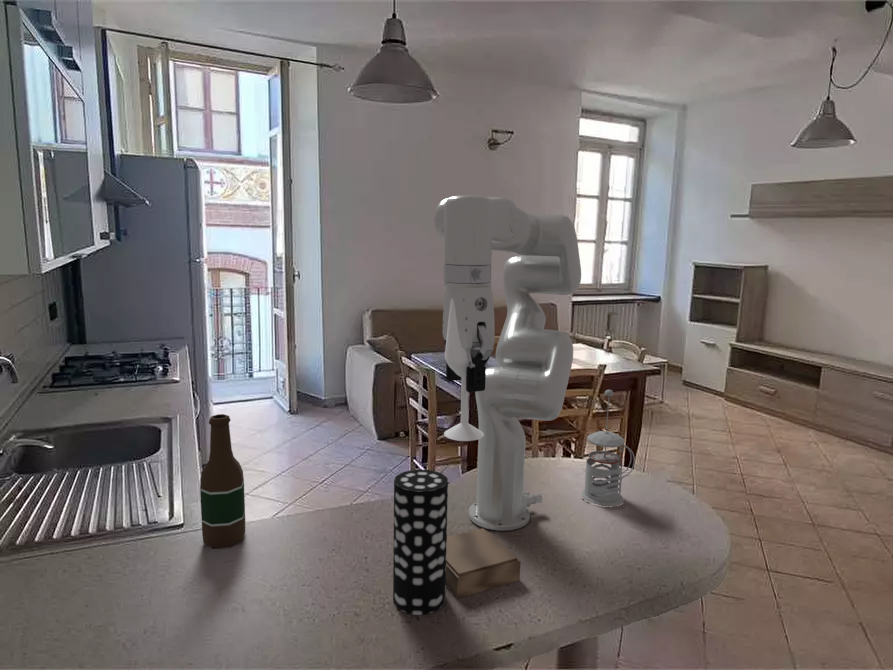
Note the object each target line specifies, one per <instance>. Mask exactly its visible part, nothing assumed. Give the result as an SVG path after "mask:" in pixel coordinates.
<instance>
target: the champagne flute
mask: <svg viewBox="0 0 893 670" xmlns="http://www.w3.org/2000/svg"><path fill="white" fill-rule="evenodd" d="M479 304H480V303H479ZM472 346H473V347H480V343H472ZM477 353H480V352H473V355H474V358H475V356H476V355H477ZM444 359H445V360H444V361H445V363H446V362H447V364H448V366H449V367H450V368H451V369H452V370H453V371H454V372H455V373H456V374H457V375H458V376H460V377H461V380H460V381H461V382H460V383H461V384H460V385H461V386H460V422H459V423H458V424H456V425H454V426H452V427H450V428H449V429H447V430H445V431H444V432H443V436H444V437H446V438H447V439H450V440H453V441H457V442H458V441H459V442H471V441H472V442H473V441H477V440H478V441H479V439H480V438H482V437H483V436H484V433H483V432H482V431H480V430H479V428H477V427H475V425H472V424H470V423H469V418H468V417H469V392H467V391H466V367H469V363H468V358H467V350H466V349H464V348H462V346H461V342H460V337H459V332H458V326H457V319H456V311H455V305H454V300H453V299H451V303H450V310H449V319H448V329H447V338H446V346H445V349H444Z"/></svg>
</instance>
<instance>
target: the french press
mask: <svg viewBox="0 0 893 670" xmlns="http://www.w3.org/2000/svg"><path fill="white" fill-rule="evenodd" d="M604 396H607V397H608V398H607V399H608V400H607V413H606V427H605V428H606V429H605V430H598V431H595V432H592V433H591V434H588V435H587V436H586V437H587V441H588V442H589V443H591V445H594V446H597V447H604V450H594V451H593V450H592V451H591V452H589V453H588V454H587V456H588V458H587V460H586V461H585V462H586V463H585V479H584V489H583V490H582V491H581V492H582V494H581V495H582V497H583V498H584V499H585V500H586V501H589V502H591V503H594V504H598V505H601V506H617V505H620V504H622V503H623V501H624V502H625V499H624V497H623V495H622V494H621V492H622V482H623V481H622V480H623V479H624V478H625V477H628V476H629V475H630V474H631V473H632V471H633V469H634V467H635V461H636V457H635V454H634V451H632V449H631V448H630V447H629V446H628V445H626V444H625V442H626V440H625V439H624V438H623V437H622V436H620V435H619V434H617V433H615V432H612V431H609V430H608V422H609V420H608V419H609V406H610V397H613V396H614V391H613V390H612V389H606V390H605V391H604ZM606 448H619V451H621V453H623V452H624V451H625V448H626V449H627V450H628V451H629V455H630V457H629V458H630V460H629V464H628V466H627V468H626V469H625V470H624V471H623V464H622V463H620V462H621V460H622V457H621V456H620V455H619V454H617V453H615V452H611V451H606ZM632 459H633V462H632ZM596 463H598V464H596ZM631 464H632V466H631ZM593 465H594V466H593ZM630 466H631V469H630V471H629V472H628V473H627V474H625V473H626V472H627V471H628V470H629V468H630ZM601 467H603V468H604V469H603V468H601ZM623 474H625V475H623ZM622 475H623V476H622ZM623 504H624V503H623ZM623 504H622V505H623ZM620 506H621V505H620ZM617 507H618V506H617Z"/></svg>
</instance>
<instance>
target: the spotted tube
mask: <svg viewBox="0 0 893 670" xmlns="http://www.w3.org/2000/svg"><path fill="white" fill-rule="evenodd" d="M393 486H394V487H393V556H392V557H393V565H392V566H393V569H392V570H393V571H392V572H393V573H392V575H393V576H392V577H393V580H392V581H393V582H392V583H393V585H392V586H393V587H392V600H393V604H394V606H395V607H396V609H398V610H399V611H401V612H403V613H406V614H409V615H415V616H424V615H428V614H432V613H436V612H437V611H439V610H440V609H441V608H442V607H443V606H444V604H445V603H446V587H447V586H446V548H447V537H448V500H449V498H448V495H449V494H448V493H449V479H448V477H447V475H445V474H443V473H441V472H439V471H436V470H432V469H431V470H430V469H409V470H406V471H403V472H401V473H399V474H397V475H395V477H394V480H393Z"/></svg>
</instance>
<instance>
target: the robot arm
mask: <svg viewBox="0 0 893 670" xmlns="http://www.w3.org/2000/svg"><path fill="white" fill-rule="evenodd" d="M433 219H434V220H433V221H434V222H433V223H434V227H435V231H436V233H437V235H438V237H439V238H440V239H441V240H442V241H443V283H442V284H443V285H444V288H445V289H444V296H443V305H442V306H443V307H442V309H443V310H442V330H441V333H442V336H443V340H444V343H443V344H444V347H446V338H447V329H448V319H449V310H450V303H451V299H453V300H454V305H455V311H456V319H457V326H458V332H459V337H460V342H461V346H462V348H464V349H466V350H467V358H468V363H469V367H466V391H467V392H468V393H475V400H476V408H477V417H478V429H479V430H480V431H482V432H483V433H484V436H483V437H482V438H480V439H478V445H477V447H478V449H477V473H476V475H477V476H476V477H477V480H476V501H475V502H473V503H472V504H471V505H470V506H469V508H468V518H469V520H471V522H473V523H474V524H475V525H476V526H479V527H481V528H482V529H483V528H484V529H485V530H486V529H487V530H492V531H498V532H499V531H502V532H504V531H515V530H518V529H521V528H522V527H524V526H526V525H527V524H528V523H529V522H530V518H531V515H530V514H531V513H530V511H529V509H528V508H530V506H531V505H536V504H537V505H538V504H540V503H542V502H543V496H542V495H541V494H542V493H541V494H540V493H535V494H531V493H530V491H524V487H525V486H524V484H525V483H524V482H525V481H524V480H525V479H524V478H525V464H526V463H525V462H526V461H525V459H526V443H527V442H526V441H527V440H526V435H525V434H526V433H525V430H524V428H523V426H522V423H520V421H519V419H518V418H521V419H528V420H536V421H543V422H544V421H548V422H549V421H550V422H551V421H554V420H556V419H557V418H558V417H559V415H560V413H561V411H562V409H563V404H564V401H565V397H566V393H567V387H568V384H569V380H570V375H571V371H572V366H573V365H572V364H573V362H574V361H573V360H574V345H573V340H572V339H571V336H570V335H568V334H567V333H566V332H564V331H560V330H555V329H547V328H546V329H545V325H546V321H547V318H546V313H545V312H544V310H543V308H542V307H541V305H540V304H539V303H538V302H537V301H536V300H535V298H533V297H532V296H531V294H538V295H539V294H541V295H553V296H554V295H558V296H569V295H573V294H574V293H576V292H577V290H578V289H579V287H580V286H581V283H582V281H581V280H582V267H581V258H580V251H579V250H580V249H579V243H578V242H579V241H578V236H577V233H576V228H575V226H574V223H573V222H572V221H573V220H571V219H570V217H569V216H567V215H564V214H530V213H528V212H526V211H524V210H522V209H521V208H519V207H518V206H517V205H516V203H515V202H514V201H513V200H511V199H509V198H507V197H503V196H484V195H454V196H450V197H447V198H444V199H443V200H441V201H440V202H439V203H438V205H437V206H436V208H435V211H434V216H433ZM493 251H498V252H505V253H510V254H512V255H513V254H514V255H516V256H512V257H510V258H508V259H507V260H506V262H504V266H503V270H502V283H503V284H502V285H503V292H504V298H505V304H506V309H507V314H506V318H505V321H504V324H503V327H502V330H501V332H500V335H499V338H498V342H497V344H496V350H495V361H496V363H497V365H498V366H490V367H488V364H489V362H488V361H489V360H490V357H491V355H492V353H493V351H494V346H495V339H496V338H495V335H496V334H495V307H494V298H493V290H492V286H491V284H492V254H493V253H492V252H493ZM479 303H480V304H479ZM472 343H480V347H473V346H472ZM473 352H480V353H477V355H476V356H475V358H474V355H473ZM445 363H446V365H445V367H446V369H445V379H446V381H448V382H453V381H454V382H455V381H461V377H460V376H458V375H457V374H456V373H455V372H454V371H453V370H452V369H451V368H450V367H449V366H448V364H447V362H446V361H445Z"/></svg>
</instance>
